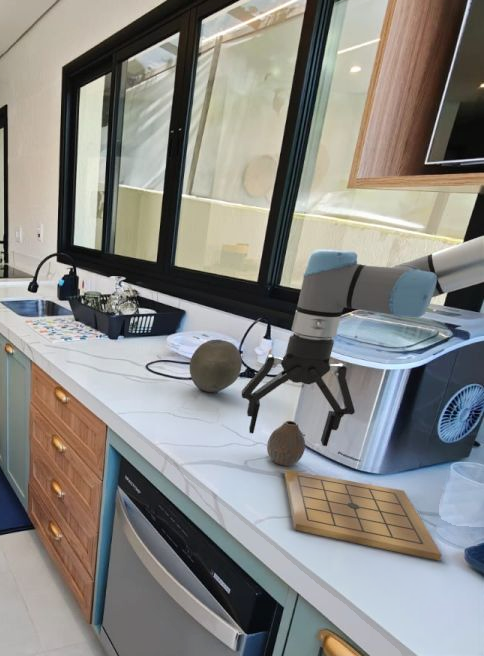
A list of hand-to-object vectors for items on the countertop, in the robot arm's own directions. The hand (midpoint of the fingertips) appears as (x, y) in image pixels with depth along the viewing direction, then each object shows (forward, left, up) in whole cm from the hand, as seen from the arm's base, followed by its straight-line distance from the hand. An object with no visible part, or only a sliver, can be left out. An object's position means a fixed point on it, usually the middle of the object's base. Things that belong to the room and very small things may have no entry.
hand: (286, 437), depth 103 cm
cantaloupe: (+16, -39, -6) cm, 42 cm away
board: (-10, +16, -6) cm, 20 cm away
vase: (0, 0, -6) cm, 6 cm away
